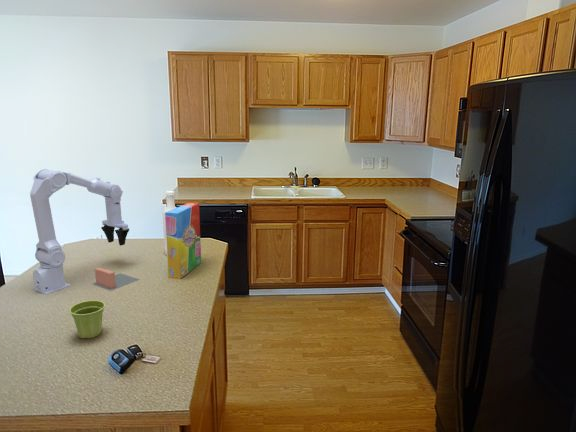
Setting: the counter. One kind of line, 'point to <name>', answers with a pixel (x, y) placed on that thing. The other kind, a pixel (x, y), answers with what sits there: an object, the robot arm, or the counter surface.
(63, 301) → the counter surface
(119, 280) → the mat
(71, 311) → the plant pot
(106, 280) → the block
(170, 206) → the bottle
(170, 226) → the game box
